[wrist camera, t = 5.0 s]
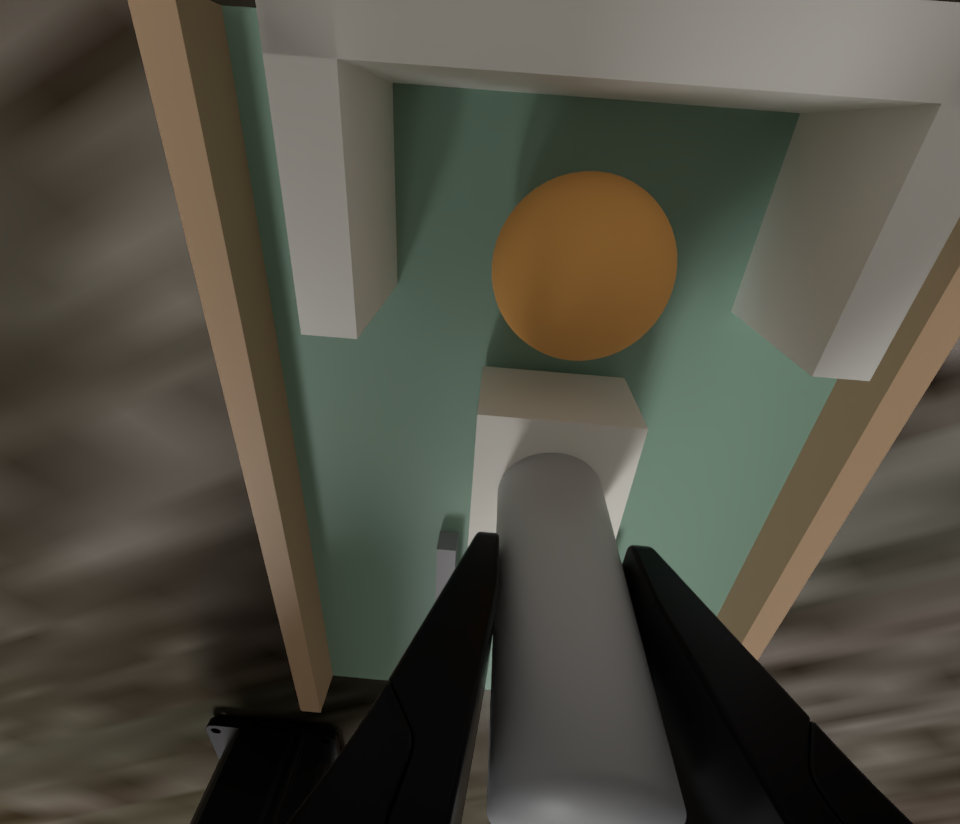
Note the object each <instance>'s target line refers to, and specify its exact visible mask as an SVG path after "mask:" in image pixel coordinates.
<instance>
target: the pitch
mask: <svg viewBox="0 0 960 824" xmlns="http://www.w3.org/2000/svg"><path fill="white" fill-rule="evenodd" d="M128 4H129V8H130V12H131V16H132V20H133V24H134V28H135V32H136V37H137V41H138V45H139V49H140V53H141V57H142V61H143V65H144V69H145V73H146V78H147V82H148V86H149V90H150V94H151V98H152V102H153V106H154V110H155V115H156V119H157V123H158V127H159V131H160V135H161V139H162V143H163V147H164V151H165V156H166V160H167V164H168V168H169V172H170V176H171V180H172V184H173V188H174V193H175V197H176V201H177V205H178V209H179V213H180V217H181V221H182V225H183V229H184V234H185V238H186V242H187V246H188V250H189V254H190V258H191V262H192V266H193V271H194V275H195V279H196V283H197V287H198V291H199V295H200V299H201V303H202V307H203V312H204V316H205V320H206V324H207V328H208V332H209V336H210V340H211V344H212V349H213V353H214V357H215V361H216V365H217V369H218V373H219V377H220V381H221V385H222V390H223V394H224V398H225V402H226V406H227V410H228V414H229V418H230V422H231V427H232V431H233V435H234V439H235V443H236V447H237V451H238V455H239V459H240V463H241V468H242V472H243V476H244V480H245V484H246V488H247V492H248V496H249V500H250V505H251V509H252V513H253V517H254V521H255V525H256V529H257V533H258V537H259V541H260V546H261V550H262V554H263V558H264V562H265V566H266V570H267V574H268V578H269V583H270V587H271V591H272V595H273V599H274V603H275V607H276V611H277V615H278V619H279V624H280V628H281V632H282V636H283V640H284V644H285V648H286V652H287V656H288V661H289V665H290V669H291V673H292V677H293V681H294V685H295V689H296V693H297V698H298V702H299V706H300V710H301V711H308V712H319V713H321V710H322V707H323V704H324V701H325V698H326V695H327V692H328V688H329V685H330V682H331V679H332V676H344V677H355V678H366V679H377V680H388V681H389V677H390V676H391V674H392V672H393V671H394V669H395V667H396V666H397V664H398V662H399V661H400V659H401V657H402V656H403V654H404V653H405V651H406V649H407V648H408V646H409V644H410V643H411V641H412V639H413V638H414V636H415V634H416V633H417V631H418V629H419V628H420V626H421V624H422V623H423V621H424V619H425V618H426V616H427V614H428V613H429V611H430V609H431V608H432V606H433V605H434V603H435V601H436V600H437V598H438V596H439V595H440V593H441V591H442V590H443V588H444V586H445V585H446V583H447V581H448V580H449V578H450V576H451V575H452V573H453V571H454V570H455V568H456V566H457V565H458V563H459V561H460V560H461V558H462V557H463V555H464V553H465V552H466V550H467V548H468V536H469V522H470V508H471V494H472V481H473V467H474V453H475V439H476V425H477V413H478V404H479V395H480V387H481V378H482V370H483V366H487V367H499V368H511V369H523V370H535V371H547V372H559V373H571V374H584V375H596V376H608V377H620V378H625V380H626V382H627V384H628V387H629V389H630V391H631V393H632V395H633V397H634V399H635V402H636V404H637V406H638V408H639V410H640V412H641V414H642V417H643V419H644V421H645V423H646V425H647V427H648V432H647V435H646V439H645V442H644V445H643V449H642V452H641V456H640V459H639V462H638V466H637V469H636V472H635V476H634V479H633V483H632V486H631V489H630V493H629V496H628V500H627V503H626V506H625V510H624V513H623V516H622V520H621V523H620V527H619V530H618V533H617V537H616V543H617V547H618V551H619V555H620V559H621V562H622V563H623V560H624V557H625V554H626V550H627V548H628V547H629V546H630V545H641V546H650V547H652V548H653V549H654V550H655V551H656V552H657V553H658V554H659V555H660V556H661V557H662V558H663V559H664V560H665V561H666V562H667V564H668V565H669V566H670V567H671V568H672V569H673V570H674V571H675V572H676V573H677V574H678V575H679V577H680V578H681V579H682V580H683V581H684V582H685V583H686V584H687V585H688V586H689V587H690V588H691V590H692V591H693V592H694V593H695V594H696V595H697V596H698V597H699V598H700V599H701V600H702V601H703V602H704V604H705V605H706V606H707V607H708V608H709V609H710V610H711V611H712V612H713V613H714V614H715V615H716V617H717V618H718V619H719V620H720V621H721V622H722V623H723V624H724V625H725V626H726V627H727V628H728V629H729V631H730V632H731V633H732V634H733V635H734V636H735V637H736V638H737V639H738V640H739V641H740V642H741V644H742V645H743V646H744V647H745V648H746V649H747V650H748V651H749V652H750V653H751V654H752V655H753V657H754V658H755V659H756V660H758V659H759V657H760V656H761V654H762V652H763V651H764V649H765V648H766V646H767V644H768V643H769V641H770V640H771V638H772V636H773V635H774V633H775V632H776V630H777V628H778V627H779V625H780V624H781V622H782V620H783V619H784V617H785V616H786V614H787V612H788V611H789V609H790V608H791V606H792V604H793V603H794V601H795V600H796V598H797V596H798V595H799V593H800V592H801V590H802V588H803V587H804V585H805V584H806V582H807V580H808V579H809V577H810V575H811V574H812V572H813V571H814V569H815V567H816V566H817V564H818V563H819V561H820V559H821V558H822V556H823V555H824V553H825V551H826V550H827V548H828V547H829V545H830V543H831V542H832V540H833V539H834V537H835V535H836V534H837V532H838V531H839V529H840V527H841V526H842V524H843V523H844V521H845V519H846V518H847V516H848V515H849V513H850V511H851V510H852V508H853V507H854V505H855V503H856V502H857V500H858V499H859V497H860V495H861V494H862V492H863V491H864V489H865V487H866V486H867V484H868V483H869V481H870V479H871V478H872V476H873V474H874V473H875V471H876V470H877V468H878V466H879V465H880V463H881V462H882V460H883V458H884V457H885V455H886V454H887V452H888V450H889V449H890V447H891V446H892V444H893V442H894V441H895V439H896V438H897V436H898V434H899V433H900V431H901V430H902V428H903V426H904V425H905V423H906V422H907V420H908V418H909V417H910V415H911V414H912V412H913V410H914V409H915V407H916V406H917V404H918V402H919V401H920V399H921V398H922V396H923V394H924V393H925V391H926V390H927V388H928V386H929V385H930V383H931V382H932V380H933V378H934V377H935V375H936V373H937V372H938V370H939V369H940V367H941V365H942V364H943V362H944V361H945V359H946V357H947V356H948V354H949V353H950V351H951V349H952V348H953V346H954V345H955V343H956V341H957V340H958V338H959V337H960V217H959V219H958V221H957V223H956V225H955V227H954V228H953V230H952V232H951V234H950V236H949V237H948V239H947V241H946V243H945V245H944V247H943V248H942V250H941V252H940V254H939V256H938V258H937V259H936V261H935V263H934V265H933V267H932V269H931V270H930V272H929V274H928V276H927V278H926V279H925V281H924V283H923V285H922V287H921V289H920V290H919V292H918V294H917V296H916V298H915V300H914V301H913V303H912V305H911V307H910V309H909V310H908V312H907V314H906V316H905V318H904V320H903V321H902V323H901V325H900V327H899V329H898V331H897V332H896V334H895V336H894V338H893V340H892V341H891V343H890V345H889V347H888V349H887V351H886V352H885V354H884V356H883V358H882V360H881V362H880V363H879V365H878V367H877V369H876V371H875V372H874V374H873V376H872V378H871V380H870V381H860V380H848V379H836V378H824V377H812V376H811V375H809V374H808V373H807V372H806V371H804V370H803V369H802V368H801V367H800V366H798V365H797V364H796V363H795V362H793V361H792V360H791V359H790V358H788V357H787V356H786V355H785V354H783V353H782V352H781V351H780V350H778V349H777V348H776V347H775V346H773V345H772V344H771V343H770V342H769V341H767V340H766V339H765V338H764V337H762V336H761V335H760V334H759V333H757V332H756V331H755V330H754V329H752V328H751V327H750V326H749V325H747V324H746V323H745V322H744V321H742V320H741V319H740V318H739V317H738V316H736V315H735V314H734V313H733V312H731V310H732V307H733V305H734V302H735V299H736V296H737V293H738V290H739V287H740V284H741V282H742V279H743V276H744V273H745V270H746V267H747V264H748V262H749V259H750V256H751V253H752V250H753V247H754V244H755V242H756V239H757V236H758V233H759V230H760V227H761V224H762V222H763V219H764V216H765V213H766V210H767V207H768V204H769V201H770V199H771V196H772V193H773V190H774V187H775V184H776V181H777V179H778V176H779V173H780V170H781V167H782V164H783V161H784V159H785V156H786V153H787V150H788V147H789V144H790V141H791V139H792V136H793V133H794V130H795V127H796V124H797V121H798V118H799V116H800V113H791V112H778V111H764V110H751V109H738V108H724V107H711V106H697V105H684V104H671V103H657V102H644V101H630V100H617V99H604V98H590V97H577V96H563V95H550V94H536V93H523V92H510V91H496V90H483V89H469V88H456V87H443V86H429V85H416V84H402V83H393V118H394V158H395V199H396V240H397V280H398V285H397V286H396V287H395V289H394V290H393V291H392V293H391V294H390V295H389V297H388V298H387V300H386V301H385V302H384V304H383V305H382V306H381V308H380V309H379V310H378V312H377V313H376V314H375V316H374V317H373V318H372V320H371V321H370V322H369V324H368V325H367V327H366V328H365V329H364V331H363V332H362V333H361V335H360V336H359V337H358V339H349V338H337V337H324V336H312V335H301V330H300V323H299V316H298V308H297V301H296V294H295V287H294V279H293V272H292V265H291V257H290V250H289V243H288V236H287V228H286V221H285V214H284V207H283V199H282V192H281V185H280V177H279V170H278V163H277V156H276V148H275V141H274V134H273V126H272V119H271V112H270V105H269V97H268V90H267V83H266V76H265V68H264V61H263V54H262V46H261V39H260V32H259V25H258V17H257V10H256V8H251V7H238V6H224V5H219V4H217V3H215V2H213V1H210V0H128ZM582 171H600V172H607V173H612V174H615V175H618V176H622V177H624V178H626V179H628V180H630V181H632V182H634V183H636V184H637V185H639V186H640V187H642V188H643V189H644V190H645V191H647V192H648V193H649V194H650V195H651V196H652V197H653V198H654V199H655V201H656V202H657V203H658V204H659V205H660V207H661V208H662V210H663V211H664V213H665V215H666V216H667V218H668V220H669V223H670V225H671V227H672V230H673V233H674V237H675V241H676V248H677V272H676V279H675V283H674V287H673V290H672V293H671V296H670V298H669V301H668V303H667V305H666V307H665V309H664V310H663V312H662V314H661V315H660V317H659V318H658V320H657V321H656V323H655V324H654V325H653V326H652V327H651V328H650V329H649V330H648V332H647V333H645V334H644V335H643V336H642V337H641V338H640V339H639V340H637V341H636V342H634V343H633V344H632V345H630V346H629V347H627V348H625V349H623V350H621V351H619V352H617V353H614V354H612V355H609V356H606V357H602V358H598V359H593V360H584V361H571V360H564V359H559V358H555V357H552V356H549V355H546V354H544V353H542V352H540V351H538V350H536V349H534V348H533V347H531V346H530V345H528V344H527V343H526V342H524V341H523V340H522V339H521V338H519V337H518V335H517V334H516V333H515V332H514V331H513V330H512V329H511V328H510V326H509V325H508V323H507V322H506V321H505V319H504V317H503V315H502V313H501V312H500V309H499V307H498V304H497V302H496V299H495V295H494V290H493V284H492V259H493V252H494V248H495V245H496V241H497V238H498V236H499V233H500V231H501V229H502V227H503V225H504V223H505V221H506V220H507V218H508V216H509V215H510V214H511V212H512V211H513V210H514V208H515V207H516V206H517V205H518V204H519V203H520V202H521V201H522V199H523V198H524V197H525V196H527V195H528V194H529V193H530V192H532V191H533V190H534V189H535V188H537V187H539V186H540V185H542V184H543V183H545V182H547V181H549V180H551V179H554V178H556V177H558V176H562V175H565V174H569V173H574V172H582ZM492 642H493V636H492ZM491 672H492V643H491V651H490V659H489V666H488V672H487V677H486V683H485V689H486V690H491Z"/></svg>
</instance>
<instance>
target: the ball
mask: <svg viewBox="0 0 960 824" xmlns="http://www.w3.org/2000/svg"><path fill="white" fill-rule="evenodd" d="M676 272H677V248H676V241H675V237H674V233H673V230H672V227H671V225H670V223H669V220H668V218H667V216H666V215H665V213H664V211H663V210H662V208H661V207H660V205H659V204H658V203H657V202H656V201H655V199H654V198H653V197H652V196H651V195H650V194H649V193H648V192H647V191H645V190H644V189H643V188H642V187H640V186H639V185H637V184H636V183H634V182H632V181H630V180H628V179H626V178H624V177H622V176H618V175H615V174H612V173H607V172H600V171H582V172H574V173H569V174H565V175H562V176H558V177H556V178H554V179H551V180H549V181H547V182H545V183H543V184H542V185H540V186H539V187H537V188H535V189H534V190H533V191H532V192H530V193H529V194H528V195H527V196H525V197H524V198H523V199H522V201H521V202H520V203H519V204H518V205H517V206H516V207H515V208H514V210H513V211H512V212H511V214H510V215H509V216H508V218H507V220H506V221H505V223H504V225H503V227H502V229H501V231H500V233H499V236H498V238H497V241H496V245H495V248H494V252H493V259H492V284H493V290H494V295H495V299H496V302H497V304H498V307H499V309H500V312H501V313H502V315H503V317H504V319H505V321H506V322H507V323H508V325H509V326H510V328H511V329H512V330H513V331H514V332H515V333H516V334H517V335H518V337H519V338H521V339H522V340H523V341H524V342H526V343H527V344H528V345H530V346H531V347H533V348H534V349H536V350H538V351H540V352H542V353H544V354H546V355H549V356H552V357H555V358H559V359H564V360H571V361H584V360H593V359H598V358H602V357H606V356H609V355H612V354H614V353H617V352H619V351H621V350H623V349H625V348H627V347H629V346H630V345H632V344H633V343H634V342H636V341H637V340H639V339H640V338H641V337H642V336H643V335H644V334H645V333H647V332H648V330H649V329H650V328H651V327H652V326H653V325H654V324H655V323H656V321H657V320H658V318H659V317H660V315H661V314H662V312H663V310H664V309H665V307H666V305H667V303H668V301H669V298H670V296H671V293H672V290H673V287H674V283H675V279H676Z"/></svg>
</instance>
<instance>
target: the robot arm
mask: <svg viewBox="0 0 960 824" xmlns="http://www.w3.org/2000/svg"><path fill="white" fill-rule="evenodd" d="M622 566H623V570H624V574H625V578H626V582H627V586H628V589H629V593H630V597H631V601H632V605H633V609H634V613H635V616H636V620H637V624H638V628H639V632H640V636H641V639H642V643H643V647H644V651H645V655H646V659H647V663H648V666H649V670H650V674H651V678H652V682H653V686H654V689H655V693H656V697H657V701H658V705H659V709H660V713H661V716H662V720H663V724H664V728H665V732H666V736H667V739H668V743H669V747H670V751H671V755H672V759H673V763H674V766H675V770H676V774H677V778H678V782H679V786H680V790H681V793H682V797H683V801H684V805H685V809H686V815H687V817H686V822H685V824H913V823H912V822H911V821H910V820H909V819H908V818H907V817H906V816H905V815H904V814H903V813H902V812H901V811H900V810H899V809H898V808H897V807H896V806H895V805H894V804H893V803H892V802H891V801H890V800H889V799H888V798H887V797H886V796H885V795H884V794H883V793H881V792H880V791H879V790H878V789H877V788H876V787H875V786H874V785H873V784H872V783H871V782H870V780H869V779H868V778H867V777H866V776H865V775H864V774H863V773H862V772H861V771H860V770H859V769H858V768H857V767H856V766H855V765H854V764H853V763H852V762H851V761H850V760H849V759H848V757H847V756H846V755H845V754H844V753H843V752H842V751H841V750H840V749H839V748H838V747H837V746H836V745H835V744H834V743H833V742H832V741H831V740H830V738H829V737H828V736H827V735H826V734H825V733H824V732H823V731H822V730H821V729H820V728H819V727H818V725H817V724H816V723H814V722H810V718H809V716H808V715H807V714H806V713H805V712H804V711H803V709H802V708H801V707H800V706H799V705H798V704H797V703H796V702H795V701H794V700H793V699H792V698H791V697H790V695H789V694H788V693H787V692H786V691H785V690H784V689H783V688H782V687H781V686H780V685H779V684H778V682H777V681H776V680H775V679H774V678H773V677H772V676H771V675H770V674H769V673H768V672H767V671H766V670H765V668H764V667H763V666H762V665H761V664H760V663H759V662H758V661H757V660H756V659H755V658H754V657H753V655H752V654H751V653H750V652H749V651H748V650H747V649H746V648H745V647H744V646H743V645H742V644H741V642H740V641H739V640H738V639H737V638H736V637H735V636H734V635H733V634H732V633H731V632H730V631H729V629H728V628H727V627H726V626H725V625H724V624H723V623H722V622H721V621H720V620H719V619H718V618H717V617H716V615H715V614H714V613H713V612H712V611H711V610H710V609H709V608H708V607H707V606H706V605H705V604H704V602H703V601H702V600H701V599H700V598H699V597H698V596H697V595H696V594H695V593H694V592H693V591H692V590H691V588H690V587H689V586H688V585H687V584H686V583H685V582H684V581H683V580H682V579H681V578H680V577H679V575H678V574H677V573H676V572H675V571H674V570H673V569H672V568H671V567H670V566H669V565H668V564H667V562H666V561H665V560H664V559H663V558H662V557H661V556H660V555H659V554H658V553H657V552H656V551H655V550H654V549H653V548H652V547H650V546H641V545H630V546H629V547H628V548H627V550H626V554H625V557H624V560H623V563H622ZM498 588H499V535H498V534H497V533H492V532H478V533H477V534H476V535H475V537H474V538H473V540H472V542H471V543H470V545H469V547H468V548H467V550H466V552H465V553H464V555H463V557H462V558H461V560H460V561H459V563H458V565H457V566H456V568H455V570H454V571H453V573H452V575H451V576H450V578H449V580H448V581H447V583H446V585H445V586H444V588H443V590H442V591H441V593H440V595H439V596H438V598H437V600H436V601H435V603H434V605H433V606H432V608H431V609H430V611H429V613H428V614H427V616H426V618H425V619H424V621H423V623H422V624H421V626H420V628H419V629H418V631H417V633H416V634H415V636H414V638H413V639H412V641H411V643H410V644H409V646H408V648H407V649H406V651H405V653H404V654H403V656H402V657H401V659H400V661H399V662H398V664H397V666H396V667H395V669H394V671H393V672H392V674H391V676H390V677H389V683H386V684H385V685H384V687H383V688H382V690H381V692H380V693H379V695H378V697H377V698H376V700H375V702H374V703H373V705H372V706H371V708H370V710H369V711H368V713H367V714H366V716H365V717H364V719H363V720H362V722H361V724H360V725H359V727H358V728H357V730H356V731H355V733H354V734H353V736H352V737H351V739H350V740H349V741H348V743H347V744H346V746H345V747H344V748H343V750H342V751H341V750H340V744H339V739H338V733H337V731H335V730H334V729H332V728H328V727H318V726H307V725H297V724H286V723H275V722H265V721H254V720H243V719H232V718H222V717H213V718H211V719H210V721H209V723H208V725H207V727H206V731H207V733H208V736H209V738H210V740H211V742H212V744H213V747H214V749H215V751H216V753H217V755H218V758H219V762H218V764H217V766H216V769H215V771H214V773H213V775H212V777H211V779H210V782H209V784H208V786H207V788H206V790H205V792H204V795H203V797H202V799H201V801H200V803H199V805H198V807H197V810H196V812H195V814H194V816H193V818H192V820H191V823H190V824H461V822H462V816H463V810H464V804H465V799H466V793H467V787H468V781H469V776H470V770H471V764H472V758H473V752H474V747H475V741H476V735H477V729H478V724H479V718H480V712H481V706H482V701H483V695H484V689H485V683H486V677H487V672H488V666H489V659H490V651H491V643H492V636H493V628H494V620H495V612H496V604H497V596H498Z"/></svg>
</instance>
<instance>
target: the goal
mask: <svg viewBox="0 0 960 824" xmlns="http://www.w3.org/2000/svg"><path fill="white" fill-rule="evenodd" d="M255 3H256V10H257V17H258V25H259V32H260V39H261V46H262V54H263V61H264V68H265V76H266V83H267V90H268V97H269V105H270V112H271V119H272V126H273V134H274V141H275V148H276V156H277V163H278V170H279V177H280V185H281V192H282V199H283V207H284V214H285V221H286V228H287V236H288V243H289V250H290V257H291V265H292V272H293V279H294V287H295V294H296V301H297V308H298V316H299V323H300V330H301V335H312V336H324V337H337V338H349V339H358V337H359V336H360V335H361V333H362V332H363V331H364V329H365V328H366V327H367V325H368V324H369V322H370V321H371V320H372V318H373V317H374V316H375V314H376V313H377V312H378V310H379V309H380V308H381V306H382V305H383V304H384V302H385V301H386V300H387V298H388V297H389V295H390V294H391V293H392V291H393V290H394V289H395V287H396V286H397V285H398V280H397V240H396V199H395V158H394V118H393V83H402V84H416V85H429V86H443V87H456V88H469V89H483V90H496V91H510V92H523V93H536V94H550V95H563V96H577V97H590V98H604V99H617V100H630V101H644V102H657V103H671V104H684V105H697V106H711V107H724V108H738V109H751V110H764V111H778V112H791V113H800V116H799V118H798V121H797V124H796V127H795V130H794V133H793V136H792V139H791V141H790V144H789V147H788V150H787V153H786V156H785V159H784V161H783V164H782V167H781V170H780V173H779V176H778V179H777V181H776V184H775V187H774V190H773V193H772V196H771V199H770V201H769V204H768V207H767V210H766V213H765V216H764V219H763V222H762V224H761V227H760V230H759V233H758V236H757V239H756V242H755V244H754V247H753V250H752V253H751V256H750V259H749V262H748V264H747V267H746V270H745V273H744V276H743V279H742V282H741V284H740V287H739V290H738V293H737V296H736V299H735V302H734V305H733V307H732V310H731V312H733V313H734V314H735V315H736V316H738V317H739V318H740V319H741V320H742V321H744V322H745V323H746V324H747V325H749V326H750V327H751V328H752V329H754V330H755V331H756V332H757V333H759V334H760V335H761V336H762V337H764V338H765V339H766V340H767V341H769V342H770V343H771V344H772V345H773V346H775V347H776V348H777V349H778V350H780V351H781V352H782V353H783V354H785V355H786V356H787V357H788V358H790V359H791V360H792V361H793V362H795V363H796V364H797V365H798V366H800V367H801V368H802V369H803V370H804V371H806V372H807V373H808V374H809V375H811V376H812V377H824V378H836V379H848V380H860V381H870V380H871V378H872V376H873V374H874V372H875V371H876V369H877V367H878V365H879V363H880V362H881V360H882V358H883V356H884V354H885V352H886V351H887V349H888V347H889V345H890V343H891V341H892V340H893V338H894V336H895V334H896V332H897V331H898V329H899V327H900V325H901V323H902V321H903V320H904V318H905V316H906V314H907V312H908V310H909V309H910V307H911V305H912V303H913V301H914V300H915V298H916V296H917V294H918V292H919V290H920V289H921V287H922V285H923V283H924V281H925V279H926V278H927V276H928V274H929V272H930V270H931V269H932V267H933V265H934V263H935V261H936V259H937V258H938V256H939V254H940V252H941V250H942V248H943V247H944V245H945V243H946V241H947V239H948V237H949V236H950V234H951V232H952V230H953V228H954V227H955V225H956V223H957V221H958V219H959V217H960V2H946V1H932V0H255Z"/></svg>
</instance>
